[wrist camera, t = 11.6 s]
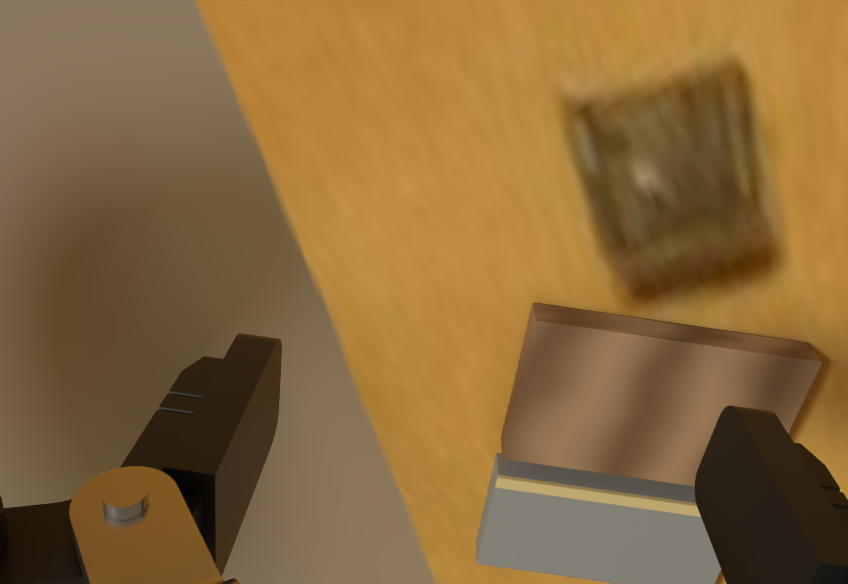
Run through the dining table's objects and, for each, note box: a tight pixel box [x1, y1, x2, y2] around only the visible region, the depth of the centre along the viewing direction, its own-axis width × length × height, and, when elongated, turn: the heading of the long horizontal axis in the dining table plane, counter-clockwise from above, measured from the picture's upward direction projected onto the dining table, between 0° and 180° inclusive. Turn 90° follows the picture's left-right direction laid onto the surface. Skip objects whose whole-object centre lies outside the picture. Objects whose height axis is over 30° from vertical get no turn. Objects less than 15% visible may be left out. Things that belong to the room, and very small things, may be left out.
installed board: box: [476, 454, 721, 584], centre depth 47 cm, size 16×8×2 cm, turn 82°
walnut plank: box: [501, 303, 822, 486], centre depth 43 cm, size 16×10×2 cm, turn 82°
